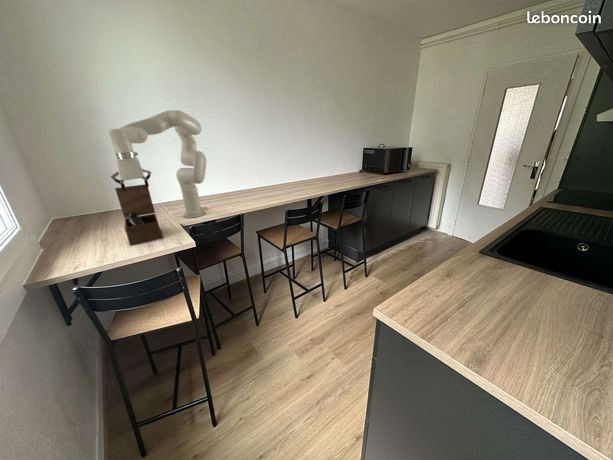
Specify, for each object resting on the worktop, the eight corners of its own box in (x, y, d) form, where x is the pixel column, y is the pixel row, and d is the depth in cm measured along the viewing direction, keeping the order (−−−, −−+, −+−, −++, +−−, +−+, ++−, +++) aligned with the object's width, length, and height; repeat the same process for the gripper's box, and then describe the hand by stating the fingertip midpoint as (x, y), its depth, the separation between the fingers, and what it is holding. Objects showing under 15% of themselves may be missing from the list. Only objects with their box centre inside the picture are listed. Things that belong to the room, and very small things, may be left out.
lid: (147, 184, 140) (146, 183, 144) (114, 188, 132) (115, 187, 136) (155, 212, 145) (154, 211, 149) (124, 218, 138) (124, 216, 142)
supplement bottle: (150, 227, 137) (136, 209, 136) (137, 233, 133) (122, 215, 132) (150, 231, 142) (136, 215, 142) (137, 237, 138) (123, 220, 137)
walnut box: (162, 238, 138) (157, 221, 134) (130, 245, 130) (124, 228, 126) (159, 229, 150) (155, 213, 146) (130, 235, 142) (124, 218, 138)
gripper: (145, 153, 130) (154, 185, 137) (104, 156, 121) (116, 191, 129) (146, 155, 124) (156, 188, 131) (103, 158, 116) (116, 194, 123)
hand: (136, 189), depth 130 cm, fingers open, 9 cm apart
